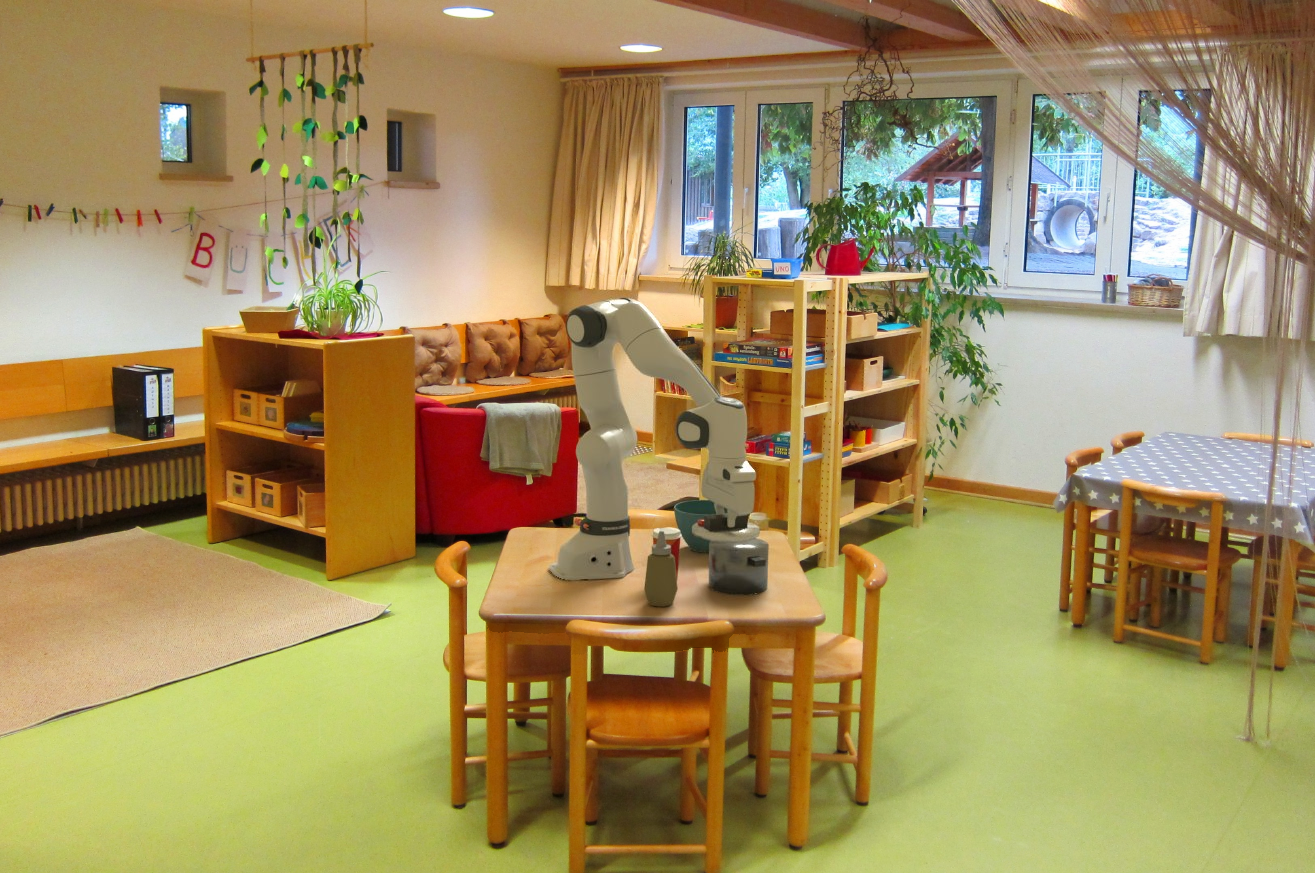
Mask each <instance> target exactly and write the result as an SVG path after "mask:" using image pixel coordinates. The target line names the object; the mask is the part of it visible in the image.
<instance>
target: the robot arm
mask: <svg viewBox="0 0 1315 873" xmlns="http://www.w3.org/2000/svg"><path fill="white" fill-rule="evenodd" d="M565 329H566V334H567V337H568V338H569V340H570V342H571V365H572V372H573V380H574V384H575V390H576V396H577V401H578V406H579V407H580V409H581V410H582V411H583V412H584V414H585V417H586V418H587V419H586V420H587V421H588V424H589V426H590V429H589V430H588V431H586V432H585V433H584V434H583V435H582V436H581V438H580V439H579V440H578V442H577V444H576V449H575V456H576V458H577V461H578V462H579V464H580V465H581V468H582V473H583V478H584V483H585V491H586V493H585V494H586V495H585V496H586V515H585V516H584V518H583V519H581V518H580V517H578V516H576V517H574V518H573V523H574V525H576V526H578V527H579V531H578V532H577V533H575V534H574V535H573V536H572V537H571V538H569V539H568V540H567V541H566V542H564V543H563V544H562V545H561V546H560V548H559V551H558V556H557V561H556V562H553V563H552V562H551V563H550V564H549V568H548V570H550V571H551V572H552V573H553V574H554V575H555V576H554V575H553V574H552V573H551V572H550V571H549V572H550V573H551V574H552V575H553V576H554V577H556V576H557V577H556V578H558V577H559V578H558V579H560V578H561V580H563V579H565V580H564V581H568V580H571V581H581V580H580V579H588V580H601V579H602V580H604V579H616V578H618V579H620V578H623V577H625V576H626V575H627V574H628V573H630V572H631V571H633V570H634V569H635V566H634V562H633V559H632V558H633V557H632V555H631V554H632V553H631V548H630V538H629V537H630V534H631V533H630V532H631V523H630V522H631V520H630V519H631V518H630V516H629V488H628V485H627V483H626V481H625V476H624V472H623V461H624V460H625V459H627V458H629V457H630V456H631V455H632V453H633V452H634V450H635V448H636V446H637V443H638V434H637V431H636V429H635V428H634V427H633V426H632V424H631V422H630V419H629V416H628V414H627V411H626V409H625V406H624V403H623V400H622V395H621V392H620V385H619V381H618V374H617V369H616V364H615V363H616V362H615V359H614V351H613V350H614V347H615V346H616V344H618V343H619V344H620V345H621V347H622V349H623V350H624V352H625V354H626V356H627V357H628V359H629V361H630V362H631V364H632V365H633V367H635V368H636V370H638V372H640V373H641V374H642V375H644V376H647V377H650V378H653V379H654V378H655V379H660V380H664V381H668V382H671V383H674V384H676V385H678V386H680V387H681V388H682V389H683V390H684V391H685V393H687V395H688V396H689V397H690V398H691V400H692V401H693V402H694V404H695V405H696V406H697V407H695V408H691V409H687V410H685V411H682V412H681V413H680V414H679V415H678V417H677V418H676V422H675V428H674V429H675V434H676V438H677V440H678V442H679V443H680V444H681V446H683V447H684V448H686V449H691V450H699V449H707V450H708V461H707V463H706V464H705V468H704V470H703V472H702V477H701V487H700V488H701V489H700V491H701V495H702V497H703V498H705V500H710V501H712V502H714V507H715V510H716V514H717V515H720V514H725V513H724V507H725V508H727V513H729V514H728V518H727V519H726V520H725V522H726V523H725V525H726V526H728V527H734V526H735V519H736V517H737V515H738V514H739V515H742V514H746V515H749V514H750V515H751V514H752V512H753V511H754V507H755V506H754V505H755V483H754V481H756V479H757V472H756V471H755V469H753V467H752V466H751V465H750V463H749V461H747V451H746V442H747V438H748V417H747V411H746V407H745V405H744V403H743V402H742V401H740V400H738V399H737V398H733V397H728V396H727V397H726V396H722V395H721V393H719V392H720V391H718V390H717V388H716V387H715V386H714V385H713V383H712V382H711V381H710V379H708V377H707V376H706V374H705V373H704V372H703V371H702V369H701V368H700V367H699V366H698V365H697V364H696V363H695V362H694V361H693V359H692V358H691V357H689V356H688V355H687V354H686V353H685V352H684V351H683V350H681V349H680V348H679V347H678V345H676V343H675V342H674V341H673V340H672V338H671V337H670V336H669V334H668V333H667V332H666V330H665V328H664V327H663V326H662V324H661V322H659V320H658V319H657V317H656V316H655V315H654V314H653V313H652V312H651V310H649V308H648V307H647V306H646V305H645V304H644V303H642V302H640V301H639V300H637V299H635V298H630V297H620V298H612V299H604V300H600V301H597V302H593V303H589V304H587V305H585V304H584V305H581V306H578V307H576V308H573V309H571V311H569V313H568V315H567V317H566V320H565Z"/></svg>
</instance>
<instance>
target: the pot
mask: <svg viewBox="0 0 1315 873" xmlns="http://www.w3.org/2000/svg"><path fill="white" fill-rule="evenodd" d="M769 549H770V546H769V543H768V542H767V541H766V540H762V539H760V538H758V537H757V538H755V539H752V540H747V541H740V542H718V541H710V543H709V552H708V554H709V555H708V587H709V589H710V590H712V589H713V590H712V591H714V592H716V591H717V593H719V592H720V593H721V594H723V595H732V596H751V595H750V594H752V595H756V594H755V593H757V594H760V592H761V593H763V592H765V591H766V590H767V589H768V583H769V581H768V580H769V579H768V578H769V576H768V575H769Z"/></svg>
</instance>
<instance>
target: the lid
mask: <svg viewBox="0 0 1315 873" xmlns="http://www.w3.org/2000/svg"><path fill="white" fill-rule="evenodd" d="M748 516H749V514H742V515H739V514H738V515H737V517H736V519H735V526H734V527H728V526H726V525H725V523H726V522H725V520H726V519H727V518H728V514H720V515H710V516H704V520H702V519H700V520H698V523H695V524H694V525H693V526H692V534H693V535H694V536H696V537H698V538H701V539H705V540H710V541H718V542H740V541H747V540H752V539H755V538H757V539H758V537H759V536H760V534H761V533H760V530H761V529H760V527H759V525H757V524H755V523H753V522H749V521H748V518H749V517H748Z"/></svg>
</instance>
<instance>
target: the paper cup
mask: <svg viewBox="0 0 1315 873" xmlns="http://www.w3.org/2000/svg"><path fill="white" fill-rule="evenodd" d="M659 531H664V534H665V539H666V544H667V545H670V546H671V553H670V554H672V555H673V556H674V557H675V566H676V577H677V579H678V577H679V576H678V575H679V564H680V562H679V561H680V549H681V538H683V537H682V535H681V534H680V530H679V529H678V527H677V528H676V527H667V526H666V527H663V526H662V527H659V528H658V527H656V528H654V529H653V532H652V534H651V537H652V544H653V545H655V544H656V543H657V539H658V534H659ZM653 545H652V546H653Z"/></svg>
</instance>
